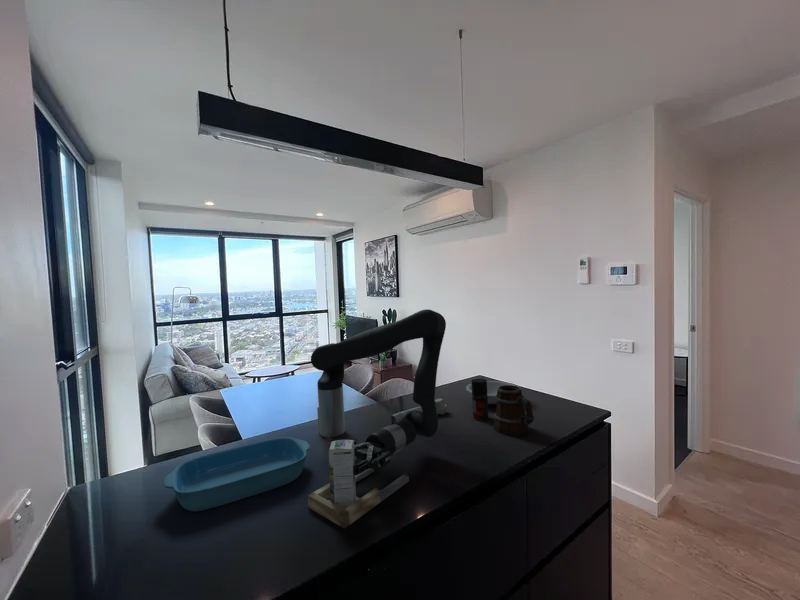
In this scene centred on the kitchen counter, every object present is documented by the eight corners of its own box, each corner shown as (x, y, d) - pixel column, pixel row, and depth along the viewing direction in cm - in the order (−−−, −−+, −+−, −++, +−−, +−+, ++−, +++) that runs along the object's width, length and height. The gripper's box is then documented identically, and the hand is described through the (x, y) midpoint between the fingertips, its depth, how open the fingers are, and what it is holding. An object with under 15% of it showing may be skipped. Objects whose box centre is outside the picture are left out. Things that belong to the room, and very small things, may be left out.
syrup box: (333, 498, 86) (330, 440, 86) (356, 496, 86) (353, 438, 87) (330, 512, 80) (327, 450, 80) (355, 509, 81) (352, 448, 81)
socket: (344, 485, 92) (343, 474, 92) (380, 502, 84) (379, 490, 84) (308, 507, 83) (308, 495, 83) (344, 528, 75) (343, 515, 75)
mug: (487, 428, 126) (485, 387, 126) (510, 420, 132) (508, 381, 132) (522, 442, 112) (520, 397, 112) (546, 433, 118) (544, 390, 118)
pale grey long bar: (388, 413, 136) (440, 393, 147) (391, 429, 137) (443, 408, 148) (394, 417, 132) (447, 396, 143) (397, 433, 132) (450, 412, 143)
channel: (374, 467, 101) (373, 462, 101) (408, 481, 93) (408, 475, 93) (344, 485, 92) (344, 480, 92) (380, 502, 84) (379, 496, 84)
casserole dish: (299, 450, 115) (297, 429, 115) (321, 479, 97) (320, 454, 96) (167, 488, 96) (165, 463, 96) (162, 533, 77) (160, 501, 77)
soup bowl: (480, 414, 141) (479, 398, 141) (458, 397, 164) (458, 383, 164) (532, 407, 146) (532, 391, 146) (504, 392, 169) (504, 378, 169)
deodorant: (491, 417, 136) (489, 379, 136) (483, 421, 132) (482, 383, 132) (477, 414, 140) (476, 377, 140) (470, 418, 136) (468, 381, 136)
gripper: (367, 423, 100) (323, 443, 88) (405, 434, 91) (361, 458, 79) (369, 449, 101) (324, 472, 88) (407, 462, 91) (363, 490, 79)
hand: (342, 466), depth 83 cm, fingers open, 8 cm apart
